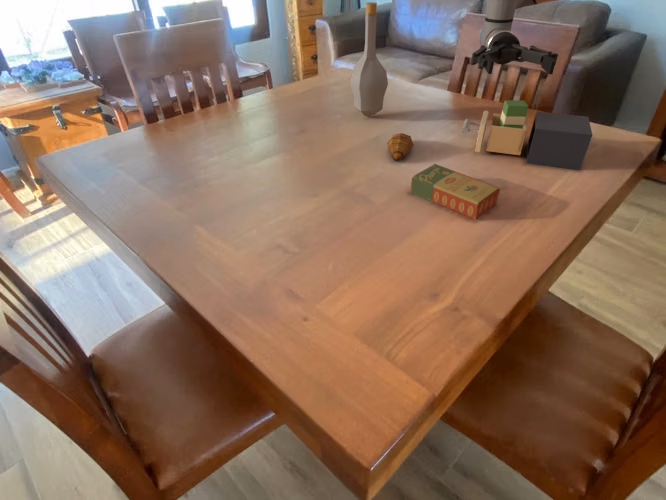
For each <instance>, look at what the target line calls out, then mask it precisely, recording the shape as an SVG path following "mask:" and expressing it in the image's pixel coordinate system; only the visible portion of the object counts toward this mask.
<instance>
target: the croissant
mask: <svg viewBox="0 0 666 500" xmlns="http://www.w3.org/2000/svg"><path fill="white" fill-rule="evenodd" d="M386 145H387V148H388V152H389V154H390V157H391V159H392V160H393V161H394V162H401V161H402V160H403V159H404V158H405V157H406V156H407V155H408V153H410V151H411V150H412V148H413V147H414V145H415V144H414V141H413V139H412V136H411V135H409V134H405V133H402V132H400V133H396V134H392V135H391V137H390V138H389V139H388V141H387V142H386Z"/></svg>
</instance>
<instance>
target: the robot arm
mask: <svg viewBox="0 0 666 500" xmlns="http://www.w3.org/2000/svg"><path fill="white" fill-rule="evenodd" d="M556 1H558V0H487V5H486V12H485V17H484V21H483V26H482V28H481V29H480V31H479V35H478V40H479V43H480V48H478V49H477V50H476V51H474V52H472V53H471V59H470V65H471V66H475V65H477V64H478V65H477V69H479V70H482V69H485V71H486V73H487V74H488V75H492V74H493V69H494V65H495V64H497V65H507V64H509V63H511V62H517V63H524V62H527V63H531V64H536V65H540V67H541V68H542V69H543V70H544V71H545V72H546V74H548V75H553V73H554V69H555V66H556V65H557V62H558V57H559V54H558V53H557V52H553V51H552V50H550V51H549V50H546V49H542V48H540V47H537V46H535V45H530V46H529V48H528V47H527V46H523V45H521V42H520V40H519V38H518V37H517V36H516V35H515V34H514V33H513V32H512V25H513V21H514V17H515V12H516V10H518V9H520V8H524V7H525V8H526V7H531V6H536V5H541V4H546V3H550V2H551V3H552V2H556Z"/></svg>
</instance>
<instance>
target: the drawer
mask: <svg viewBox="0 0 666 500" xmlns="http://www.w3.org/2000/svg"><path fill="white" fill-rule="evenodd" d="M489 114H490V111H488V110H484V111H483V114H482V117H481V120H480V122H479V121H472V120H471V119H470V118H466V119H465V120H464V122H463V124H462V128H461V130H460V131H461V133H462V134H468V133H475V134H476V133H477V139H476V144H475V149H474V153H481V150H482V145H483V141H484V137H485V134H486V128H487V124H488V119H489ZM501 114H502V113H493V115H492V121H491V125H490V129H489V134H488V138H487V144H486V148H485V151H486V152H491V153H499V154H507V155H514V156H521V154H522V151H523V146H524V142H525V138H526V136H527V131H528V119H529V118H528V116H526V118H525V122H524V125H523V128H522V129H521V128H512V127H503V126H499V124H500V120H501ZM471 126H479V128H478V129H475V128H471Z"/></svg>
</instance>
